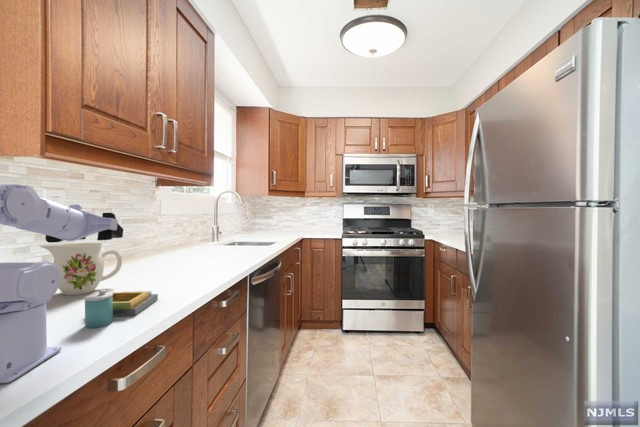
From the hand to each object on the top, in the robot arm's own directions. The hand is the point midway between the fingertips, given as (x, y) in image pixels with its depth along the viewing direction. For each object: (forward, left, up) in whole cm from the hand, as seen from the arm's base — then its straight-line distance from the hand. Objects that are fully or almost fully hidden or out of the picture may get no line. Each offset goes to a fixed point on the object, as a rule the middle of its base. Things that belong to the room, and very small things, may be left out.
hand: (103, 233), depth 64 cm
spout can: (-5, -2, -18) cm, 19 cm away
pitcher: (+20, +17, -18) cm, 32 cm away
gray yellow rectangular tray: (+4, -2, -18) cm, 19 cm away
